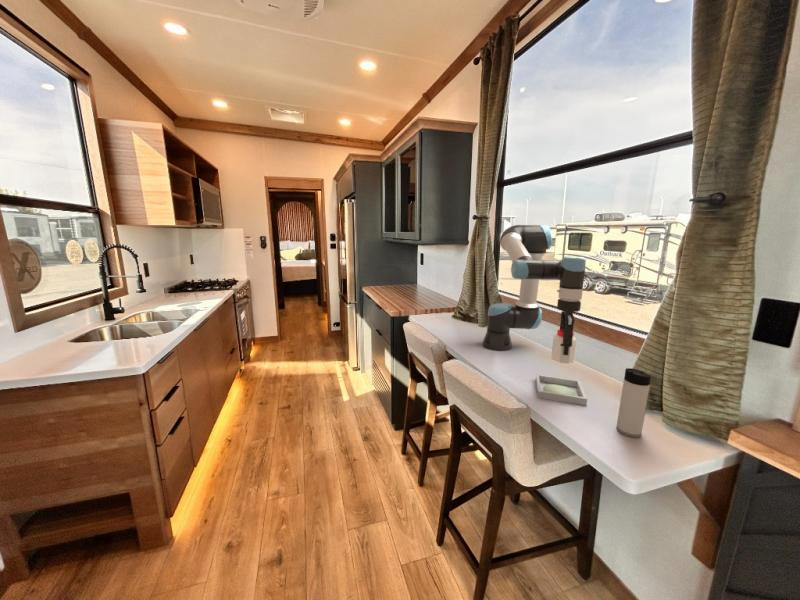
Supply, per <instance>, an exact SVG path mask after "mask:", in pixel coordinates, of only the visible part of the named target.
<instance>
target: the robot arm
mask: <svg viewBox="0 0 800 600" xmlns="http://www.w3.org/2000/svg"><path fill="white" fill-rule="evenodd" d="M499 244H500V247H501V248H502V250H504V251H505V252H506V253H507V254H508V257H509V259H510V260H511V267H510V272H511V276H512V278H513V279H515V280H517V279H518V280H520V287H519V297H518V300H517V301H516V302H515V305H514V306H512V303H505V302H504V303H503V302H500V303H494V304H491V305H489V306H488V310H487V311H488V312H487V324H486V325H487V327H486V333H485V334H484V335H485V336H484V338H483V340H482V346H483V347H484V348H486V349H488V350H493V351H499V352H502V351H509V350H511V349H512V348H513V342H512V339H511V334H510V329H516V330H517V329H520V330H535V329H538V328H539V326H540V325H541V322H542V320H543V310H542V309H541V307H540V304H539V303H538V301H537V298H538V291H539V285H540V284H539V283H540V280H546V281H547V280H550V281H552V280H553V281H559V287H558V288H559V289H557V290H556V291H557V293H558V299H557V306H556V309H558V310H559V311H561V313H560V323H559V329H564V330H563V344H560V346H562V348H561V357H560V362H559V363H561V364H570V363H569V355H570V347H571V346H572V337H573V332H574V326H575V316H574V314H573V313H578V312H580V311H581V305H582V301H581V300H582V298H583V289H584V281H585V273H586V269H587V267H586V263H587V262H586V258H585V257H583V256H564V257H563V258H562V259H555V260H550V259H548V260H545V259H544V260H543V259H542V258H543V256H545V255H546V254H547V250H550V249H551V248H552V245H553V234H552V230H551V228H550V227H549V226H548V225H543V224H516V225H512V226H509V227H508V228H506V229H505V230H504V231H503V232H502V233H501V235H500V238H499Z"/></svg>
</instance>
